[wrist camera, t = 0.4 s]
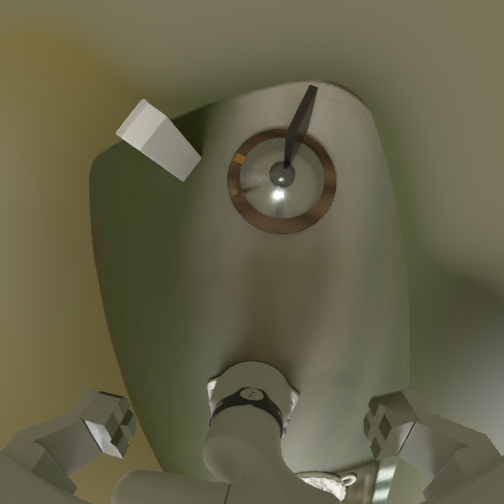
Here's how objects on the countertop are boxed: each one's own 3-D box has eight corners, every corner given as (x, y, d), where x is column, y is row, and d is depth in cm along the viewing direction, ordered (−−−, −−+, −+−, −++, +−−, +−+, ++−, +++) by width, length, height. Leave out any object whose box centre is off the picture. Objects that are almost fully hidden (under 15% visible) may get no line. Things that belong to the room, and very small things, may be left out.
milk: (163, 167, 52) (102, 125, 30) (181, 143, 51) (130, 90, 29) (184, 182, 51) (127, 143, 29) (203, 158, 51) (157, 105, 29)
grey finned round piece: (303, 233, 47) (315, 225, 32) (218, 194, 49) (194, 172, 34) (341, 145, 47) (363, 107, 31) (260, 112, 48) (254, 66, 33)
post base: (329, 240, 49) (334, 239, 44) (221, 226, 50) (216, 224, 46) (337, 140, 48) (342, 130, 43) (236, 128, 50) (232, 117, 45)
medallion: (244, 487, 51) (243, 493, 49) (338, 453, 49) (339, 459, 47) (285, 519, 50) (285, 524, 48) (367, 490, 48) (369, 495, 46)
